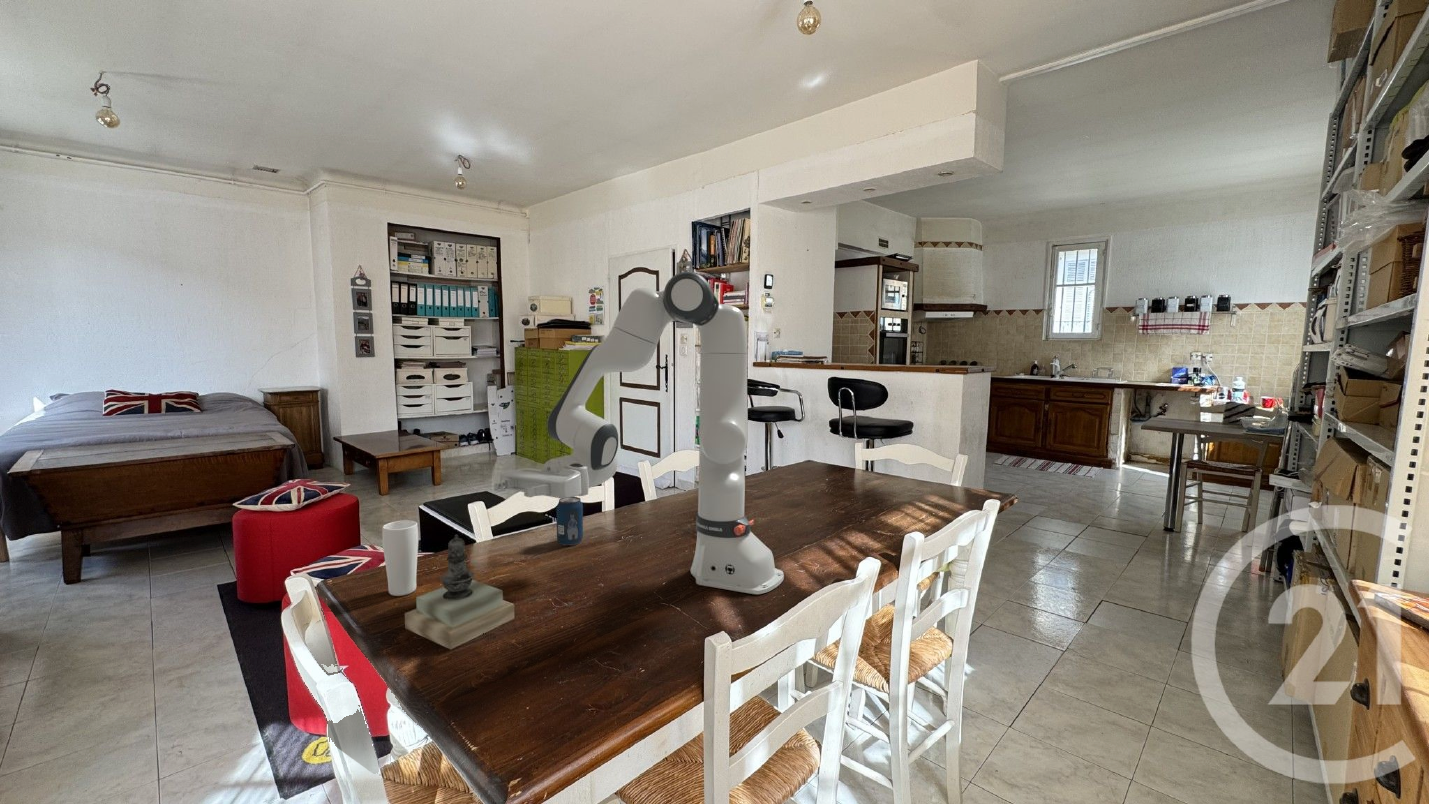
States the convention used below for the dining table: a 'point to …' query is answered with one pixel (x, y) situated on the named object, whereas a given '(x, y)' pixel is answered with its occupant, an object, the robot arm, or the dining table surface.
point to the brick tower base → (460, 630)
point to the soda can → (569, 521)
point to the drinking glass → (401, 556)
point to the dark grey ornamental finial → (457, 572)
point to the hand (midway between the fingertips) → (510, 490)
